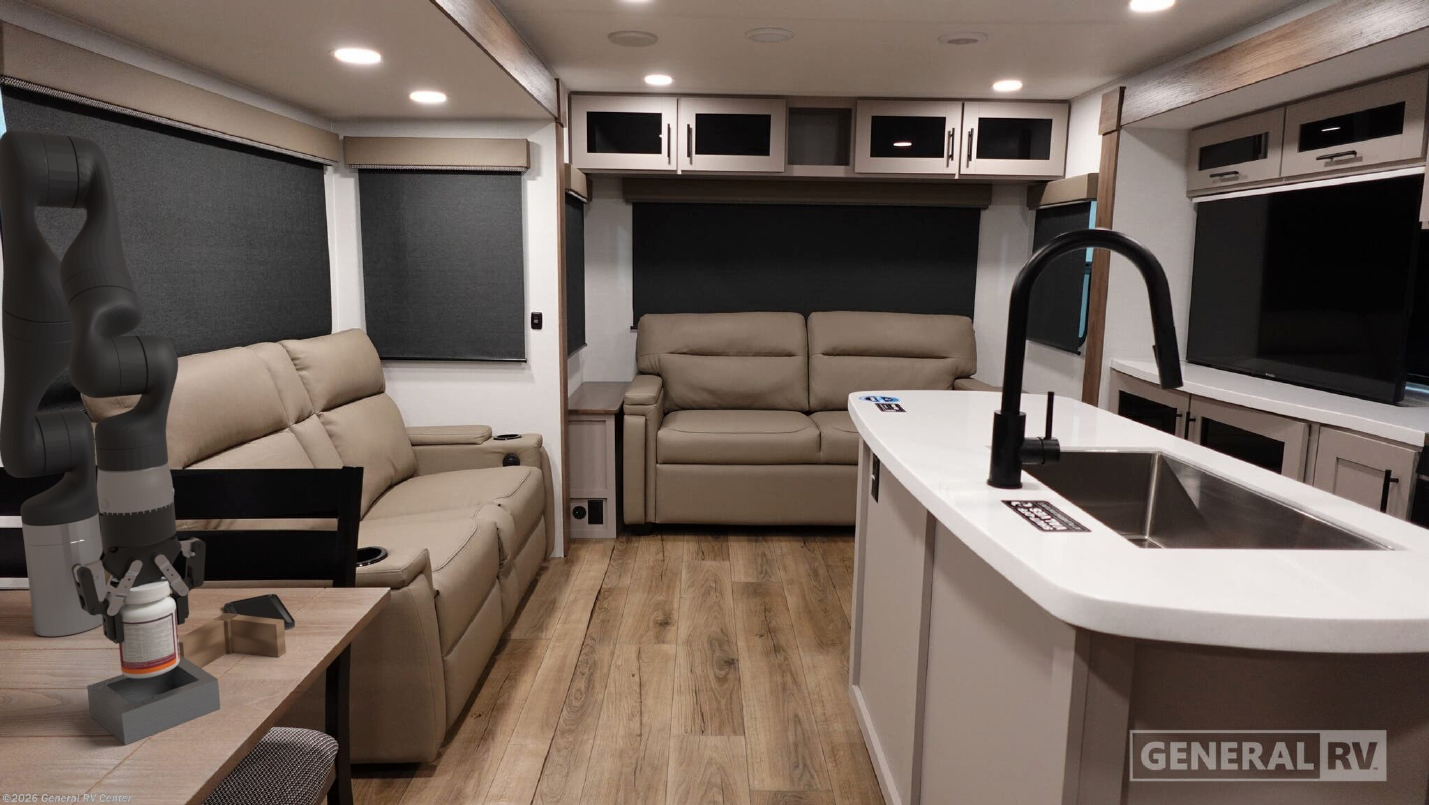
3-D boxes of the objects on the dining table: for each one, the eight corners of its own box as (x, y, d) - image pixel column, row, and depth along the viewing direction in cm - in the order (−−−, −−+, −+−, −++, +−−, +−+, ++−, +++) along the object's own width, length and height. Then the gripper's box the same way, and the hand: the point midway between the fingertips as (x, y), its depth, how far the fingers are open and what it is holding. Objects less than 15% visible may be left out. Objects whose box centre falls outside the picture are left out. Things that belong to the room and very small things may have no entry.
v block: (287, 655, 123) (284, 622, 122) (176, 679, 115) (173, 644, 114) (279, 634, 129) (277, 603, 128) (173, 655, 122) (170, 622, 121)
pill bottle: (139, 657, 109) (131, 573, 107) (190, 656, 109) (183, 572, 107) (110, 681, 103) (101, 592, 101) (164, 680, 103) (156, 591, 101)
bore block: (90, 715, 106) (87, 686, 105) (183, 683, 114) (180, 655, 113) (124, 745, 99) (121, 713, 99) (220, 708, 108) (218, 679, 107)
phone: (275, 592, 143) (296, 622, 132) (275, 599, 144) (296, 629, 132) (222, 603, 139) (239, 635, 127) (222, 610, 139) (239, 642, 127)
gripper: (187, 484, 110) (196, 606, 113) (53, 508, 99) (67, 643, 102) (214, 494, 106) (223, 621, 109) (77, 521, 94) (91, 662, 97)
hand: (148, 631), depth 105 cm, fingers closed on pill bottle, 6 cm apart
